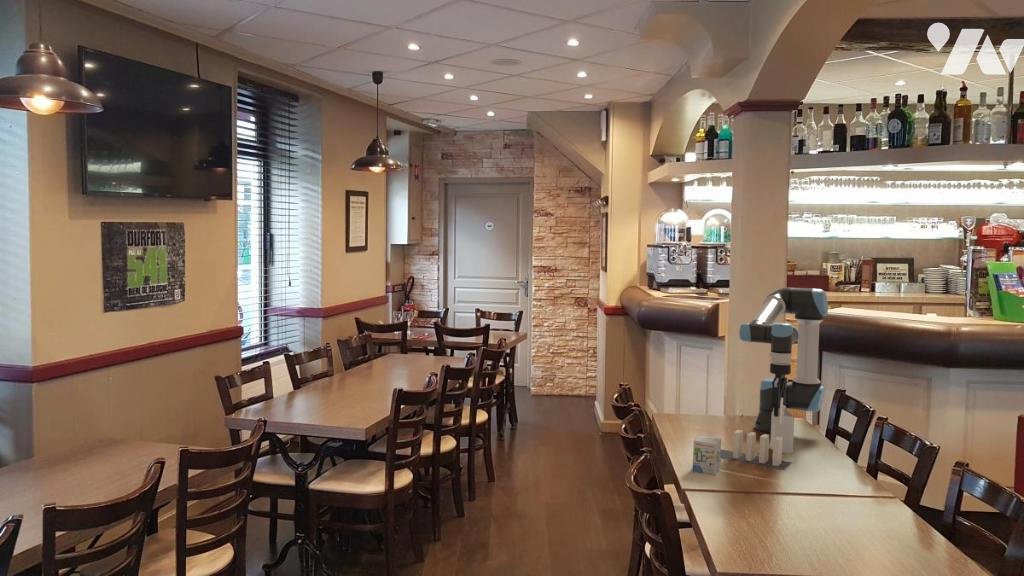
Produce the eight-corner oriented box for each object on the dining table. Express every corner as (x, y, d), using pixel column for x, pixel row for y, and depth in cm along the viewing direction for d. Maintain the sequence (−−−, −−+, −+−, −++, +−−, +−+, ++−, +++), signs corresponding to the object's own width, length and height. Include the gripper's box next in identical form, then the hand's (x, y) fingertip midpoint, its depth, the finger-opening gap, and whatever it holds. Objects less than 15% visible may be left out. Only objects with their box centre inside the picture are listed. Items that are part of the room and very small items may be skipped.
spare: (776, 422, 282) (777, 396, 281) (782, 422, 281) (783, 397, 280) (773, 424, 278) (774, 399, 277) (779, 425, 277) (780, 399, 276)
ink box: (691, 471, 265) (692, 440, 264) (697, 465, 272) (698, 434, 272) (715, 475, 261) (716, 443, 260) (720, 469, 268) (721, 438, 268)
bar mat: (720, 450, 293) (720, 449, 293) (792, 463, 277) (792, 462, 277) (709, 456, 283) (709, 455, 283) (783, 471, 267) (783, 470, 267)
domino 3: (762, 459, 280) (763, 434, 279) (768, 460, 279) (769, 434, 278) (758, 462, 276) (759, 436, 275) (764, 463, 275) (765, 437, 274)
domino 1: (737, 454, 286) (738, 429, 285) (742, 455, 284) (743, 430, 284) (732, 457, 282) (733, 432, 281) (738, 458, 280) (739, 433, 280)
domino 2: (749, 457, 283) (750, 431, 282) (755, 458, 282) (756, 432, 281) (745, 460, 279) (746, 434, 278) (751, 461, 278) (752, 435, 277)
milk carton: (787, 448, 297) (789, 403, 296) (792, 453, 290) (795, 406, 289) (770, 448, 298) (772, 402, 296) (774, 452, 291) (776, 406, 289)
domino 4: (776, 462, 277) (777, 436, 276) (781, 463, 276) (782, 437, 275) (772, 465, 273) (773, 439, 272) (777, 466, 272) (778, 439, 271)
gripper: (776, 359, 287) (773, 417, 289) (764, 365, 272) (762, 426, 274) (796, 361, 283) (793, 420, 285) (785, 367, 268) (782, 429, 270)
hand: (778, 423), depth 279 cm, fingers closed on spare, 5 cm apart
